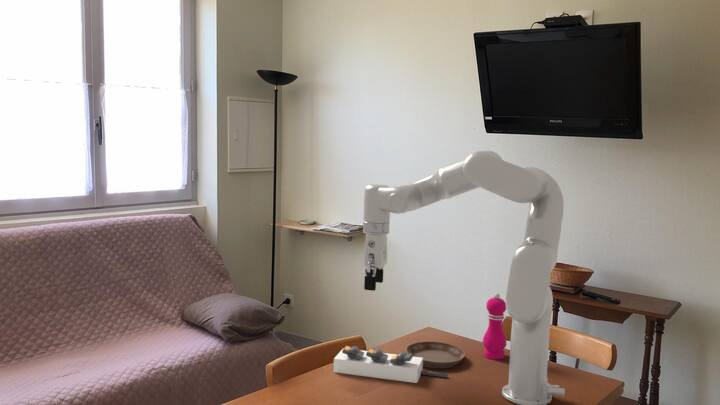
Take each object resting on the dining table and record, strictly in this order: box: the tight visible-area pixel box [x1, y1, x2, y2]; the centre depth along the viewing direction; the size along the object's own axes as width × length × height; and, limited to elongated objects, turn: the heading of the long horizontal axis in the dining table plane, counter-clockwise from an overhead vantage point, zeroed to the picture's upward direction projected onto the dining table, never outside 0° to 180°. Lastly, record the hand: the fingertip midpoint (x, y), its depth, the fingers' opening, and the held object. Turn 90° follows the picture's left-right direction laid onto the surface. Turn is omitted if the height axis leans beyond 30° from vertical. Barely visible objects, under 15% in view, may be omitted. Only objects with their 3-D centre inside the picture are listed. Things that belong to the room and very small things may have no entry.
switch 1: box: [342, 345, 365, 360], centre depth 175 cm, size 6×4×3 cm, turn 75°
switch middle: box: [366, 347, 388, 363], centre depth 173 cm, size 6×4×3 cm, turn 75°
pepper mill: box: [482, 292, 507, 361], centre depth 189 cm, size 7×7×20 cm
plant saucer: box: [405, 341, 466, 369], centre depth 186 cm, size 18×18×3 cm
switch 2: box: [390, 351, 413, 365], centre depth 171 cm, size 6×4×3 cm, turn 74°
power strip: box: [333, 347, 449, 384], centre depth 174 cm, size 32×9×4 cm, turn 75°
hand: (373, 285), depth 178 cm, fingers open, 9 cm apart
